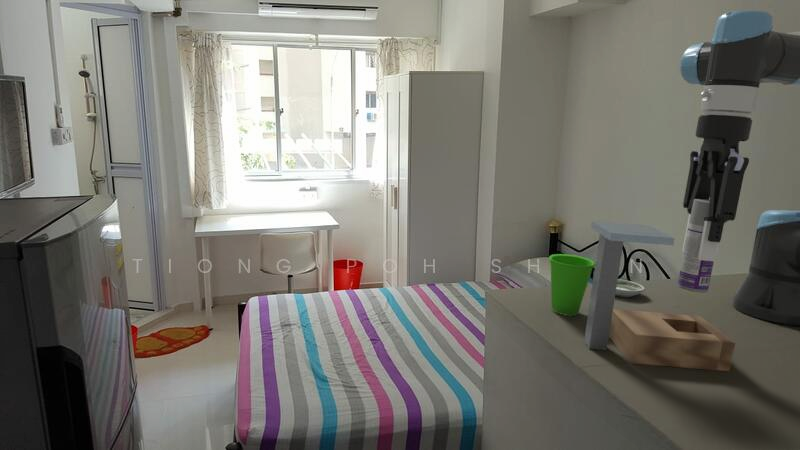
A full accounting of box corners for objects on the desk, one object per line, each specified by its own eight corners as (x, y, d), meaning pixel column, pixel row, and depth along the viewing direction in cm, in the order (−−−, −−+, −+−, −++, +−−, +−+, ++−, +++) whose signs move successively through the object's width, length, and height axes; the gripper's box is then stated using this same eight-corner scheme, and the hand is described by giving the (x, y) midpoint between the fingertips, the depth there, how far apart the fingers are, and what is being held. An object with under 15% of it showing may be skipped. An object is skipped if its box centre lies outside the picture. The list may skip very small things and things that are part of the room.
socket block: (694, 341, 102) (698, 316, 101) (729, 371, 90) (735, 342, 89) (606, 334, 102) (610, 308, 101) (630, 363, 91) (635, 334, 90)
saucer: (630, 288, 134) (632, 278, 133) (651, 302, 124) (652, 291, 124) (592, 286, 133) (593, 276, 132) (609, 300, 124) (611, 289, 123)
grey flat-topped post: (630, 338, 101) (649, 225, 97) (652, 362, 92) (674, 238, 87) (575, 333, 102) (592, 221, 97) (592, 357, 92) (610, 233, 88)
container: (702, 286, 96) (719, 200, 93) (712, 294, 91) (729, 204, 88) (673, 282, 96) (689, 197, 94) (681, 290, 92) (698, 201, 89)
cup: (533, 308, 114) (540, 257, 111) (558, 301, 120) (564, 252, 117) (572, 322, 107) (580, 268, 105) (596, 314, 113) (604, 262, 111)
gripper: (676, 113, 97) (654, 242, 101) (732, 112, 79) (702, 268, 84) (720, 116, 97) (695, 245, 101) (785, 116, 79) (752, 272, 84)
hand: (698, 255), depth 93 cm, fingers closed on container, 5 cm apart
